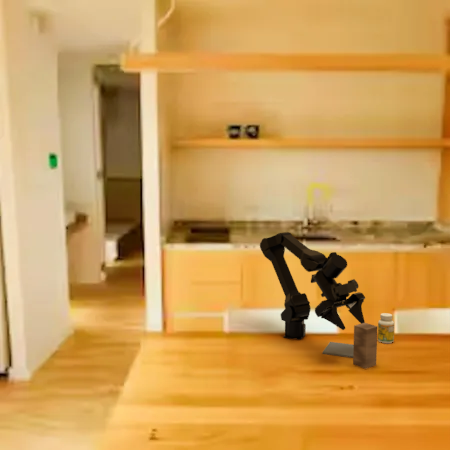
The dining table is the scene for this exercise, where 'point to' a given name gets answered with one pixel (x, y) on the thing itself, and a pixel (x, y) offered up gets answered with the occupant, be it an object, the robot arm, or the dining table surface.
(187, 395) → the dining table surface
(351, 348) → the charcoal mat
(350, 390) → the dining table surface
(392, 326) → the supplement bottle
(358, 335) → the walnut block
